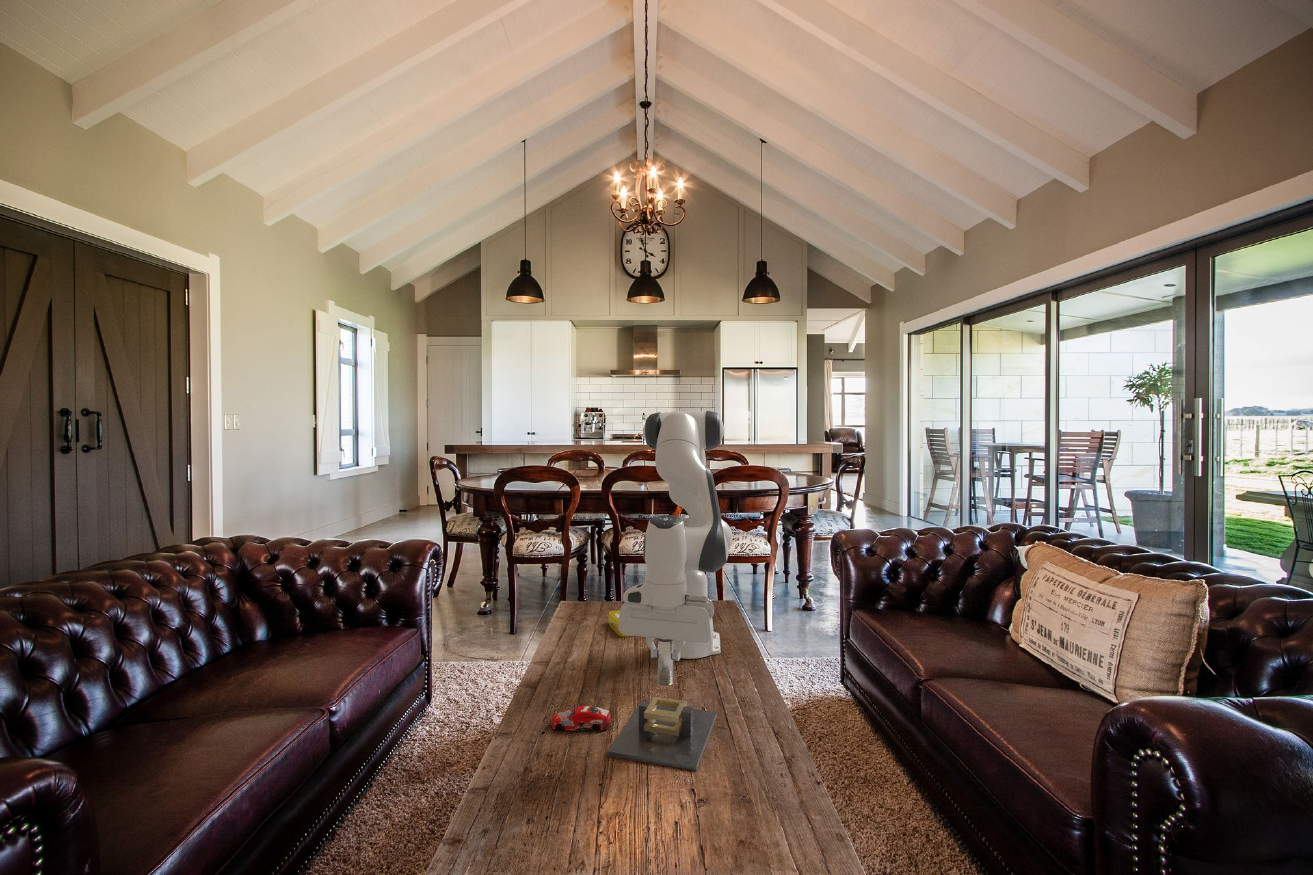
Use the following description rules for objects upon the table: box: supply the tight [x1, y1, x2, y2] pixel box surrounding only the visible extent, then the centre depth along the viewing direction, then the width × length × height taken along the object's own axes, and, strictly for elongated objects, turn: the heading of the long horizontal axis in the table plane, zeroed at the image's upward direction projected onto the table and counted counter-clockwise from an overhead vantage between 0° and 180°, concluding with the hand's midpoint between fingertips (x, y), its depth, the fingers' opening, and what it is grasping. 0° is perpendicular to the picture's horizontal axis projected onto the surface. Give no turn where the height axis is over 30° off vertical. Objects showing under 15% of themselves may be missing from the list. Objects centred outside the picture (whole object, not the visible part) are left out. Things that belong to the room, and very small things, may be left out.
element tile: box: [608, 609, 632, 638], centre depth 193 cm, size 15×15×5 cm
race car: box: [550, 705, 612, 732], centre depth 129 cm, size 13×5×4 cm, turn 89°
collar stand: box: [607, 696, 718, 772], centre depth 125 cm, size 22×18×6 cm
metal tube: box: [657, 638, 674, 687], centre depth 125 cm, size 3×3×12 cm
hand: (665, 658), depth 125 cm, fingers closed on metal tube, 3 cm apart
